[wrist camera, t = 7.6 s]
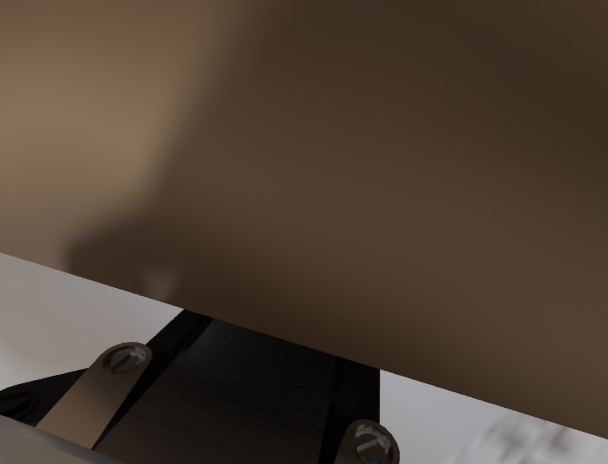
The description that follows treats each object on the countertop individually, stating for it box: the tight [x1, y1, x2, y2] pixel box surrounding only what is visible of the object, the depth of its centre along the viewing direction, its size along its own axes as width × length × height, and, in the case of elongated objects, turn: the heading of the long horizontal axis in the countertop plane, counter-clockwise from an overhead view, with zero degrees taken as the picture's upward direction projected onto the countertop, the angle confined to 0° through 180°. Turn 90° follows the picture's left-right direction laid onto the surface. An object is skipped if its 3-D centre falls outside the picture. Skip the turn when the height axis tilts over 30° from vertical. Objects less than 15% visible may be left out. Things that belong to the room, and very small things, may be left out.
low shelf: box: [0, 0, 608, 439], centre depth 8 cm, size 12×19×6 cm, turn 80°
